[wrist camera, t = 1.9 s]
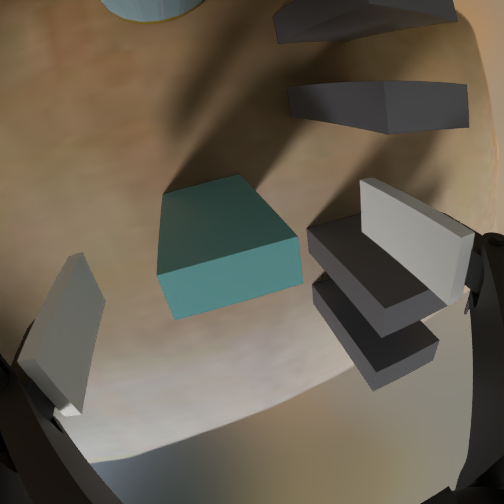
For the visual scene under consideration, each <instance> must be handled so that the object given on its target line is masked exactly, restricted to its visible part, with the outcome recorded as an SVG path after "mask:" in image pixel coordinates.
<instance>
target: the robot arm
mask: <svg viewBox="0 0 504 504" xmlns="http://www.w3.org/2000/svg"><path fill="white" fill-rule="evenodd" d="M360 194H361V224H362V232H363V233H364V234H365V235H367V236H368V237H369V238H370V239H372V240H373V241H374V242H375V243H377V244H378V245H379V246H380V247H381V248H383V249H384V250H385V251H386V252H387V253H389V254H390V255H391V256H392V257H393V258H395V259H396V260H397V261H398V262H399V263H401V264H402V265H403V266H404V267H405V268H406V269H408V270H409V271H410V272H411V273H412V274H413V275H414V276H416V277H417V278H418V279H419V280H420V281H421V282H422V283H424V284H425V285H426V286H427V287H428V288H429V289H430V290H431V291H432V292H434V293H435V294H436V295H437V296H438V297H439V298H440V299H441V300H442V301H443V302H444V303H446V304H447V305H450V304H452V303H454V302H455V301H457V300H459V299H461V297H462V294H463V290H464V285H466V286H467V287H468V288H470V289H471V290H470V294H469V297H468V301H467V304H466V308H465V312H464V314H467V312H468V310H469V309H470V317H471V329H472V346H473V347H472V348H473V400H472V417H471V430H470V439H469V449H468V455H467V459H466V462H465V464H464V466H463V469H462V470H461V472H460V475H459V478H458V481H457V485H456V489H455V490H454V491H451V489H450V487H449V486H448V487H447V488H445V489H444V490H442V491H441V492H439V493H437V494H436V495H435V496H433V497H431V498H430V499H428V500H426V501H424V502H423V503H421V504H504V235H502V234H498V233H485V234H484V235H483V236H482V235H481V234H479V233H477V232H476V231H474V230H472V229H471V228H469V227H468V226H466V225H464V224H462V223H460V222H459V221H457V220H456V219H454V218H452V217H450V216H449V215H447V214H445V213H442V212H440V211H438V210H436V209H434V208H432V207H431V206H429V205H427V204H425V203H423V202H421V201H419V200H418V199H416V198H414V197H412V196H410V195H408V194H406V193H404V192H402V191H400V190H398V189H396V188H394V187H392V186H390V185H388V184H386V183H384V182H382V181H380V180H378V179H376V178H374V177H371V178H366V179H361V180H360ZM105 302H106V301H105V299H104V297H103V295H102V293H101V291H100V289H99V287H98V285H97V283H96V280H95V278H94V276H93V274H92V272H91V270H90V268H89V265H88V263H87V261H86V259H85V256H84V254H83V252H81V253H78V254H75V255H72V256H69V257H68V259H67V260H66V262H65V264H64V266H63V267H62V269H61V271H60V273H59V275H58V276H57V278H56V280H55V282H54V284H53V286H52V287H51V289H50V291H49V293H48V295H47V297H46V299H45V301H44V303H43V305H42V307H41V309H40V311H39V313H38V315H37V317H36V319H35V320H34V321H33V322H32V323H31V325H30V326H29V327H28V328H27V330H26V333H25V335H24V337H23V340H22V341H21V344H20V347H19V348H18V350H17V353H16V355H15V357H14V360H13V362H12V365H11V367H10V366H9V365H8V363H7V362H6V361H5V359H4V358H3V357H2V355H1V354H0V504H123V503H122V502H121V500H120V499H119V498H118V497H117V496H116V495H115V494H114V493H113V492H112V491H111V489H110V488H109V487H108V486H107V485H106V484H105V482H104V481H103V480H102V479H101V478H100V477H99V475H98V474H97V473H96V472H95V470H94V469H93V468H92V467H91V465H90V464H89V463H88V462H87V460H86V459H85V458H84V456H83V455H82V454H81V452H80V451H79V450H78V448H77V447H76V445H75V444H74V443H73V441H72V440H71V438H70V437H69V435H68V434H67V433H66V431H65V430H64V428H63V427H62V425H61V424H60V422H59V421H58V420H57V419H56V418H55V417H54V416H53V412H54V408H55V407H56V408H57V409H58V410H59V411H60V412H61V413H62V414H63V415H64V416H74V415H82V410H83V404H84V398H85V392H86V386H87V381H88V375H89V370H90V365H91V360H92V356H93V351H94V346H95V342H96V338H97V333H98V329H99V325H100V321H101V317H102V313H103V309H104V306H105Z"/></svg>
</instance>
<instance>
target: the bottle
mask: <svg viewBox="0 0 504 504" xmlns="http://www.w3.org/2000/svg"><path fill="white" fill-rule="evenodd" d="M101 1H102V3H103V4H104V5H105V6H106V7H107V9H108V10H109V11H110V12H111V13H112V14H114V15H115V16H117V17H119V18H121V19H123V20H125V21H128V22H133V23H139V24H155V23H163V22H167V21H170V20H173V19H177V18H179V17H182V16H184V15H185V14H187V13H189V12H190V11H192V10H194V9H195V8H197V7H198V6H199V5H200V4H201V3H202V2H203V1H204V0H101Z"/></svg>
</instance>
